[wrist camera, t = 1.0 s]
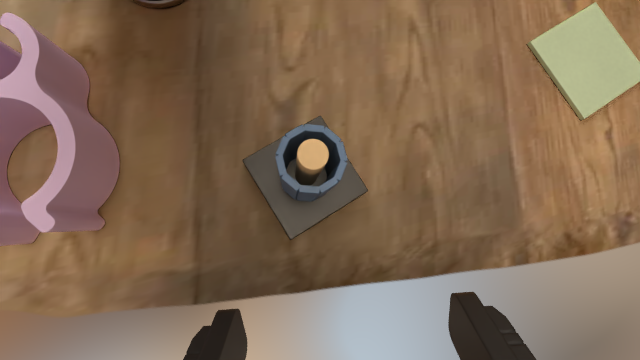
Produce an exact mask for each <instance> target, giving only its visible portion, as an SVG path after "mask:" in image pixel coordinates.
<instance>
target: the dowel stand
mask: <svg viewBox="0 0 640 360" xmlns="http://www.w3.org/2000/svg"><path fill="white" fill-rule="evenodd" d="M306 124H311V125H321V126H324V128H325V127H327V128H328V126H327V125H326V123H325V122H324V120H323V119H322V117H321V116H319V117H317V118H315V119H313V120H312V121H310V122H308V123H306ZM303 126H304V125H303ZM328 129H329V128H328ZM282 138H283V137H282ZM282 138H280V139H278V140H277V141H275V142H273V143H271V144H270V145H268V146H266V147H264V148H263V149H261V150H259V151H257V152H256V153H254V154H252V155H250V156H249V157H247V158H245V159H243V162H244V164H245V166H246V167H247V169H248V171H249V172H250V174H251V175H252V177H253V179H254V180H255V182H256V184H257V185H258V187H259V189H260V190H261V192H262V194H263V195H264V197H265V199H266V200H267V202H268V203H269V205H270V207H271V208H272V210H273V212H274V213H275V215H276V217H277V218H278V220H279V222H280V223H281V225H282V227H283V228H284V230H285V231H286V233H287V235H288V236H289V238H290V239H293V238H294V237H296V236H298V235H299V234H301V233H302V232H304V231H306V230H307V229H309V228H310V227H312V226H313V225H315V224H317V223H318V222H320V221H321V220H323V219H324V218H326V217H328V216H329V215H331V214H332V213H334V212H335V211H337V210H339V209H340V208H342V207H343V206H345V205H347V204H348V203H350V202H351V201H353V200H354V199H356V198H358V197H359V196H361V195H362V194H364V193H365V192H367V191H368V189H367V188H366V186H365V185H364V183H363V182H362V180H361V178H360V177H359V175H358V174H357V172H356V171H355V169H354V167H353V166H352V164H351V163H350V161H349V159H348V158H347V161H346V162H347V165H346V168H345V170H344V173H343V175H342V178H341V180H340V181H339V183H338V184H337V185H335V186H334V187H333V188H332V189H331V190H329V191H328V192H327V193H326V194H324V195H323V196H321V197H319V198H318V199H316V200H315V201H311V202H310V201H297V198H296V199H293V198H292V197H291V196H290V195H289V194H288V193H286V192H285V191H284V189H283V188H282V184H281V180H280V176H279V171H278V167H277V163H276V158H275V156H276V151H277V149H278V147H279V144H280V142H281V140H282ZM328 158H329V151H328V148H327V146H326V145H325V144H324V143H323V142H322V141H320V140H317V139H308V140H306V141H304V142H303V143H301V145H300V146H299V148H298V151H297V158H295V159H294V160H292V161H290V163H289V165H288V167H287V170H286V172H287V174H288V175H290V176H291V177H292V178H293V179H294V180H296V181H297V182H298V183H299V184H300V185H309V186H320V185H322V184H323V183H325V181H326V179H327V174H326V170H325V165H326V163H327V161H328Z"/></svg>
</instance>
